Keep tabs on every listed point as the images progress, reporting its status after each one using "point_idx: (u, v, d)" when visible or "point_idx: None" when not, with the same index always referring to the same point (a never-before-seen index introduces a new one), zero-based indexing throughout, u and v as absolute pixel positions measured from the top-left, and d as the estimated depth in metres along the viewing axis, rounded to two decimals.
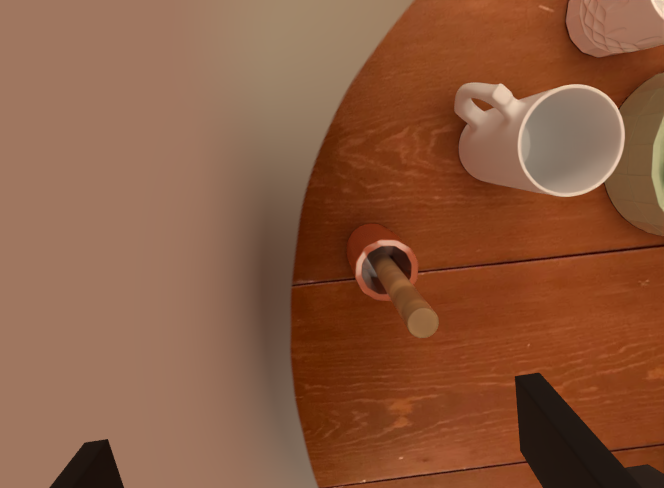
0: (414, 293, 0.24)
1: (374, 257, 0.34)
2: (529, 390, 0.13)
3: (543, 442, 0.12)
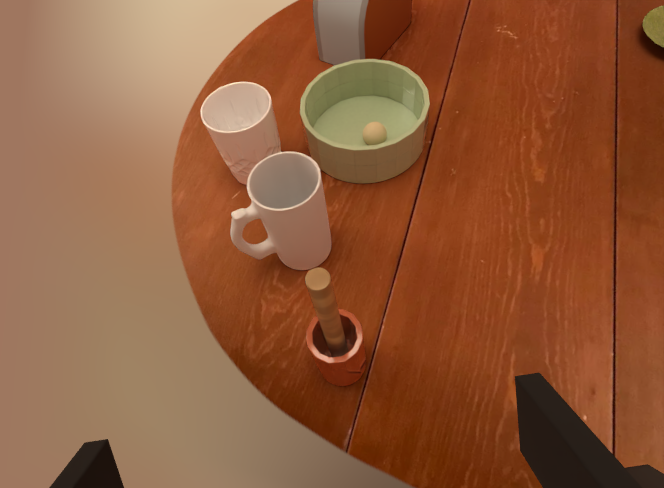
0: None
1: (328, 347, 0.38)
2: (529, 390, 0.13)
3: (543, 442, 0.12)
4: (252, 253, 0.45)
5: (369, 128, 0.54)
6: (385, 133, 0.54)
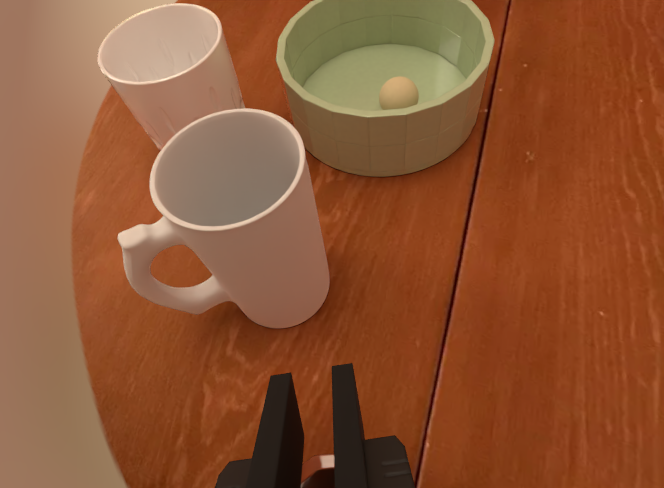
0: None
1: None
2: (334, 377, 0.15)
3: None
4: (180, 306, 0.24)
5: (391, 85, 0.33)
6: (416, 95, 0.33)
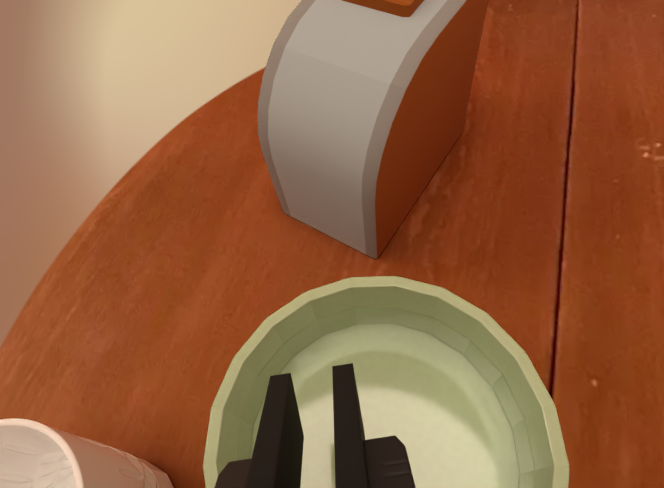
0: None
1: None
2: (335, 377, 0.15)
3: None
4: None
5: None
6: None
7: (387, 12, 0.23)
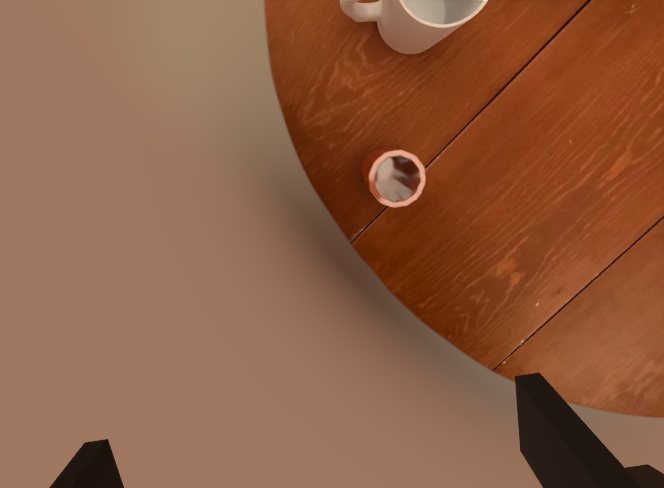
0: None
1: None
2: (529, 390, 0.13)
3: (543, 442, 0.12)
4: (353, 17, 0.36)
5: None
6: None
7: None
